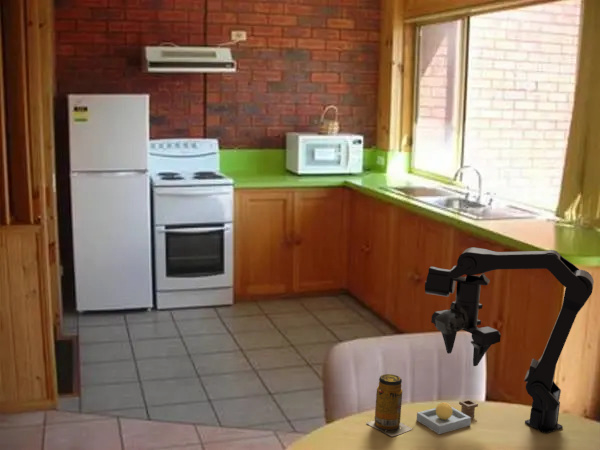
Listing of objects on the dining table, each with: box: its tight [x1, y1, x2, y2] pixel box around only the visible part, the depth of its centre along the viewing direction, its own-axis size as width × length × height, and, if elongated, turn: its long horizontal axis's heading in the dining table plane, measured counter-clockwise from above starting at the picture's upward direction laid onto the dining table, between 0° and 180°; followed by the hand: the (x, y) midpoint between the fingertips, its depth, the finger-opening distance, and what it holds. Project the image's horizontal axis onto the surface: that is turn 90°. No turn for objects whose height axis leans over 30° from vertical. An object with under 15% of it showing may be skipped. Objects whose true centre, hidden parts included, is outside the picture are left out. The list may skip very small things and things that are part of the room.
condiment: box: [366, 373, 413, 437], centre depth 175 cm, size 7×8×12 cm
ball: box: [435, 402, 453, 420], centre depth 179 cm, size 4×4×4 cm
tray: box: [416, 406, 472, 435], centre depth 179 cm, size 10×8×2 cm
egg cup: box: [458, 398, 479, 419], centre depth 184 cm, size 3×3×3 cm
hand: (461, 359), depth 185 cm, fingers open, 9 cm apart
